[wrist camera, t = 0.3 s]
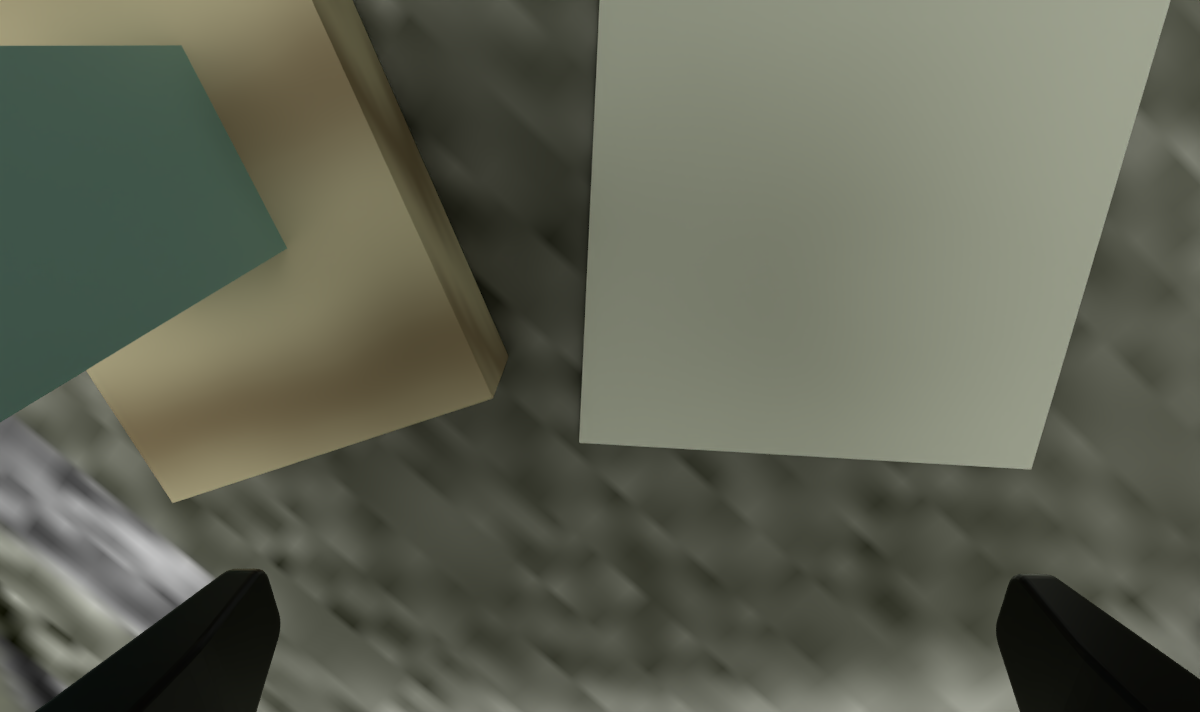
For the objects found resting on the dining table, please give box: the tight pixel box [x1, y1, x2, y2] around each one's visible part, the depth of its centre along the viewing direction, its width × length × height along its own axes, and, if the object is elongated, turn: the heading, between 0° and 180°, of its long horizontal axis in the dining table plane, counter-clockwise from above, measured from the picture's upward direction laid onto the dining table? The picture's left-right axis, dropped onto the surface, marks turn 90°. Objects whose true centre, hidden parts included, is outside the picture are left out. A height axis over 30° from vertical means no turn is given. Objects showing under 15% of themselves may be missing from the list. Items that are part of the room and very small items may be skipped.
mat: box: [579, 0, 1170, 469], centre depth 20 cm, size 20×14×1 cm
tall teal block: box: [0, 45, 287, 422], centre depth 14 cm, size 5×4×10 cm
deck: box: [0, 0, 508, 503], centre depth 20 cm, size 16×10×3 cm, turn 20°
